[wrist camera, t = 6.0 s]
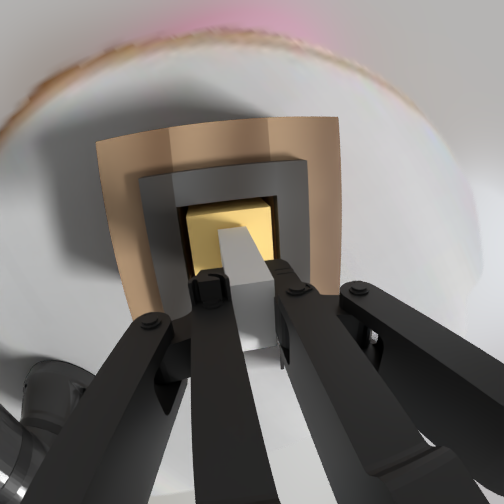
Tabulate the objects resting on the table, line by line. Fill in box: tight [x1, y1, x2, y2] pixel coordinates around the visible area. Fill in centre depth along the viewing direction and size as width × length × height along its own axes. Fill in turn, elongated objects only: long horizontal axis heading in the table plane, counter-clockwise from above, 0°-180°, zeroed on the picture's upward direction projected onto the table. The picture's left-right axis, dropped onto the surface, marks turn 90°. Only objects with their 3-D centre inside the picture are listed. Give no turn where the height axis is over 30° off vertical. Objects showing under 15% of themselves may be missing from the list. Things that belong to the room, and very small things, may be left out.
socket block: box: [96, 117, 342, 321], centre depth 22 cm, size 14×14×11 cm
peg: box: [186, 197, 274, 276], centre depth 20 cm, size 4×4×9 cm
